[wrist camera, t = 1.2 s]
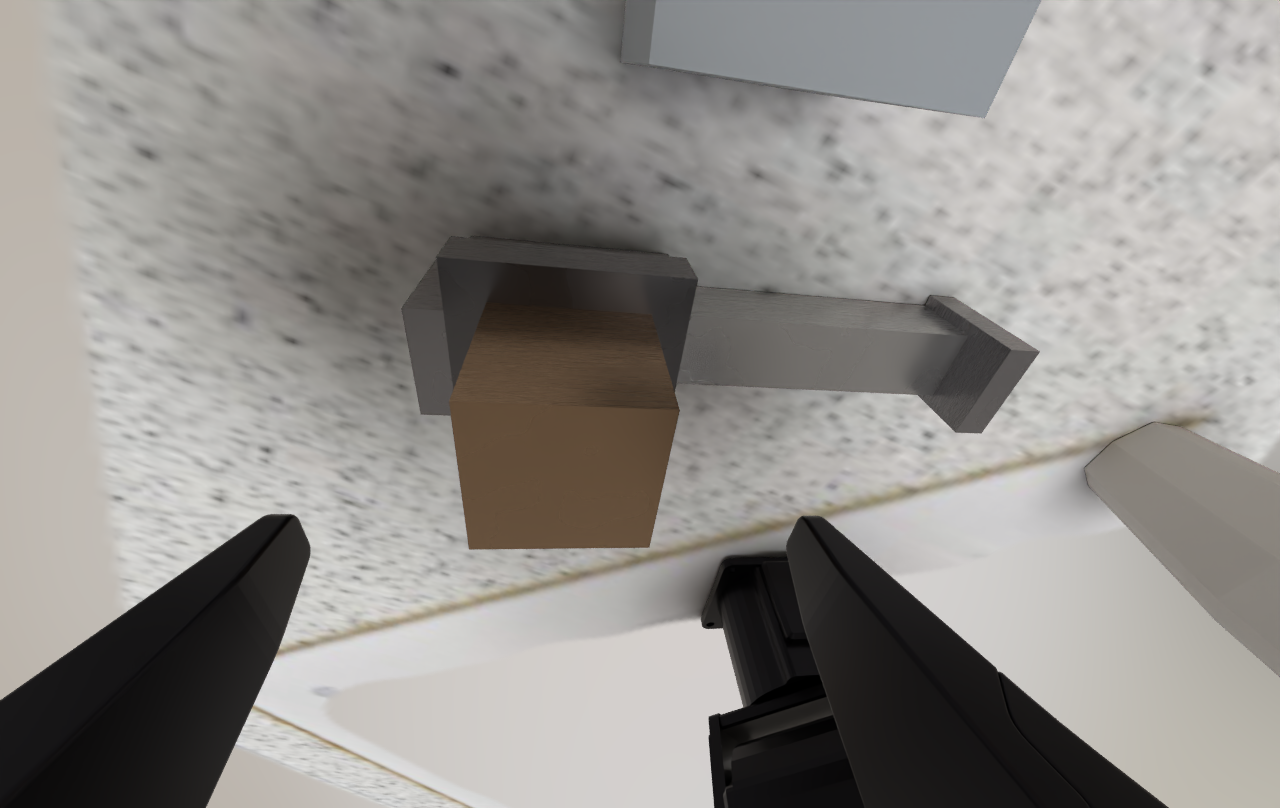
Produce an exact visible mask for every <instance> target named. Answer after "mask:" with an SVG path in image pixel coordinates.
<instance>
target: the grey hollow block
mask: <svg viewBox="0 0 1280 808" xmlns="http://www.w3.org/2000/svg"><path fill="white" fill-rule="evenodd" d="M1040 2H1041V0H625V12H624V24H623V36H622V48H621V60H620V62H622V63H628V64H634V65H640V66H647V67H653V68H659V69H665V70H672V71H678V72H684V73H691V74H697V75H703V76H709V77H716V78H722V79H728V80H734V81H741V82H747V83H753V84H760V85H766V86H772V87H778V88H785V89H791V90H797V91H803V92H810V93H816V94H822V95H828V96H835V97H842V98H849V99H856V100H863V101H870V102H877V103H884V104H890V105H897V106H904V107H911V108H918V109H925V110H932V111H939V112H946V113H953V114H960V115H967V116H974V117H981V118H985V117H986V115H987V113H988V111H989V108H990V106H991V104H992V102H993V100H994V98H995V96H996V94H997V92H998V90H999V88H1000V86H1001V83H1002V81H1003V79H1004V77H1005V75H1006V73H1007V71H1008V69H1009V67H1010V65H1011V63H1012V60H1013V58H1014V56H1015V54H1016V52H1017V50H1018V48H1019V46H1020V44H1021V42H1022V40H1023V37H1024V35H1025V33H1026V31H1027V29H1028V27H1029V25H1030V23H1031V21H1032V19H1033V17H1034V15H1035V12H1036V10H1037V8H1038V6H1039V4H1040Z"/></svg>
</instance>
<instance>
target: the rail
mask: <svg viewBox="0 0 1280 808" xmlns="http://www.w3.org/2000/svg"><path fill="white" fill-rule="evenodd" d="M402 314H403V319H404V325H405V330H406V336H407V341H408V347H409V352H410V357H411V363H412V368H413V374H414V379H415V385H416V390H417V396H418V401H419V407H420V412H421V414H424V415H451V412H450V405H449V400H450V397H451V395H452V392H453V384H452V376H451V368H450V360H449V352H448V345H447V337H446V329H445V321H444V313H443V305H442V297H441V290H440V282H439V274H438V266H437V259H436V260H435V262H434V263H433V264H432V266H431V267H430V269H429V270H428V271H427V273H426V274H425V276H424V277H423V278H422V280H421V281H420V283H419V284H418V286H417V287H416V288H415V290H414V291H413V293H412V294H411V295H410V297H409V298H408V300H407V301H406V303H405V304H404V305H403V307H402ZM1039 352H1040V351H1038V350H1036V349H1035V348H1033V347H1032V346H1030V345H1029V344H1027V343H1025V342H1024V341H1022V340H1021V339H1019V338H1017V337H1016V336H1014V335H1013V334H1011V333H1010V332H1008V331H1006V330H1005V329H1003V328H1002V327H1000V326H998V325H997V324H995V323H994V322H992V321H991V320H989V319H987V318H986V317H984V316H983V315H981V314H979V313H978V312H976V311H975V310H973V309H972V308H970V307H968V306H967V305H965V304H964V303H962V302H960V301H959V300H957V299H956V298H954V297H943V296H931V295H930V297H929V299H928V301H927V303H926V304H925V305H913V304H901V303H889V302H877V301H865V300H853V299H841V298H829V297H817V296H804V295H792V294H780V293H768V292H756V291H744V290H732V289H720V288H708V287H696V292H695V297H694V301H693V306H692V311H691V316H690V321H689V325H688V330H687V335H686V340H685V345H684V349H683V354H682V359H681V364H680V369H679V374H678V378H677V383H683V384H704V385H725V386H746V387H766V388H787V389H808V390H829V391H850V392H870V393H891V394H912V395H918V396H919V397H920V398H921V399H922V400H923V401H924V402H925V403H926V404H927V405H928V406H929V407H930V408H931V409H932V410H933V411H934V412H935V413H936V414H937V415H938V416H939V417H940V418H941V419H943V420H944V421H945V422H946V423H947V424H948V425H949V426H950V427H951V428H952V429H953V430H954V431H955V432H956V433H982V432H983V430H984V429H985V428H986V426H987V425H988V423H989V422H990V421H991V419H992V418H993V416H994V415H995V414H996V412H997V411H998V409H999V408H1000V407H1001V405H1002V404H1003V403H1004V401H1005V400H1006V398H1007V397H1008V396H1009V394H1010V393H1011V391H1012V390H1013V389H1014V387H1015V386H1016V384H1017V383H1018V382H1019V380H1020V379H1021V377H1022V376H1023V375H1024V373H1025V372H1026V370H1027V369H1028V368H1029V366H1030V365H1031V363H1032V362H1033V361H1034V359H1035V358H1036V357H1037V355H1038V354H1039Z"/></svg>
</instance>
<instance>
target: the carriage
mask: <svg viewBox="0 0 1280 808" xmlns="http://www.w3.org/2000/svg"><path fill="white" fill-rule="evenodd" d="M436 258H437V266H438V274H439V282H440V290H441V297H442V305H443V313H444V321H445V329H446V337H447V345H448V352H449V360H450V368H451V376H452V384H453V392H452V395H451V397H450V400H449V405H450V412H451V419H452V427H453V434H454V441H455V449H456V456H457V463H458V471H459V478H460V485H461V493H462V500H463V508H464V515H465V522H466V530H467V537H468V544H469V549H553V548H648V547H649V546H650V542H651V537H652V533H653V528H654V524H655V519H656V515H657V510H658V506H659V501H660V497H661V492H662V488H663V483H664V478H665V474H666V469H667V465H668V460H669V456H670V451H671V447H672V442H673V438H674V433H675V429H676V424H677V420H678V415H679V411H680V410H679V406H678V403H677V399H676V396H675V388H676V383H677V378H678V374H679V369H680V364H681V359H682V354H683V349H684V345H685V340H686V335H687V330H688V325H689V321H690V316H691V311H692V306H693V301H694V297H695V292H696V287H697V282H698V278H697V276H696V275H695V273H694V271H693V269H692V267H691V266H690V264H689V262H688V260H687V258H679V257H669V255H668V254H661V253H650V252H640V251H629V250H618V249H608V248H597V247H586V246H576V245H565V244H554V243H544V242H533V241H522V240H512V239H501V238H490V237H480V236H471V237H470V238H464V237H453V236H451V237H450V238H449V240H448V241H447V243H446V244H445V245H444V247H443V248H442V250H441V251H440V252H439V254H438V255H437V257H436Z"/></svg>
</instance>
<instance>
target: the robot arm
mask: <svg viewBox="0 0 1280 808" xmlns="http://www.w3.org/2000/svg"><path fill="white" fill-rule="evenodd" d="M786 551H787V557H788V558H732V559H727V560H725V561H724V562H723V563H722V564H721V567H720V570H719V572H718V575H717V578H716V580H715V583H714V586H713V588H712V591H711V593H710V596H709V599H708V601H707V604H706V607H705V609H704V612H703V615H702V617H701V622H702V627H704V628H706V629H716V628H723V630H724V633H725V637H726V641H727V645H728V649H729V653H730V657H731V660H732V665H733V669H734V672H735V676H736V680H737V684H738V688H739V692H740V695H741V700H742V704H743V708H741V709H738V710H735V711H731V712H728V713H725V714H722V715H721V714H719V713H718V714H715V715H712V716H709V729H710V735H709V748H710V761H711V773H712V785H713V796H714V808H1168V807H1167V806H1166V805H1165V804H1163V803H1162V802H1161V801H1159V800H1158V799H1157V798H1155V797H1154V796H1153V795H1152V794H1150V793H1149V792H1148V791H1147V790H1145V789H1144V788H1143V787H1141V786H1140V785H1139V784H1138V783H1136V782H1135V781H1134V780H1132V779H1131V778H1130V777H1129V776H1127V775H1126V774H1125V773H1123V772H1122V771H1121V770H1120V769H1118V768H1117V767H1116V766H1114V765H1113V764H1112V763H1111V762H1109V761H1108V760H1107V759H1105V758H1104V757H1103V756H1102V755H1100V754H1099V753H1098V752H1097V751H1095V750H1094V749H1093V748H1092V747H1090V746H1089V745H1088V744H1087V743H1085V742H1084V741H1083V740H1082V739H1080V738H1079V737H1078V736H1077V735H1075V734H1074V733H1073V732H1072V731H1070V730H1069V729H1068V728H1067V727H1065V726H1064V725H1063V724H1062V723H1060V722H1059V721H1058V720H1057V719H1056V718H1054V717H1053V716H1052V715H1051V714H1050V713H1048V712H1047V711H1046V710H1045V709H1044V708H1042V707H1041V706H1040V705H1039V704H1038V703H1037V702H1035V701H1034V700H1033V699H1032V698H1031V697H1029V696H1028V695H1027V694H1026V693H1024V691H1022V690H1021V689H1020V688H1019V687H1018V686H1016V684H1014V683H1013V682H1012V681H1011V680H1010V679H1008V678H1007V677H1006V676H1005V675H1004V674H1003V673H1001V672H998V671H997V669H996V667H994V666H993V665H992V664H991V663H990V662H989V661H988V660H986V659H985V658H984V657H983V656H982V655H981V654H980V653H978V652H977V651H976V650H975V649H974V648H973V647H972V646H970V645H969V644H968V643H967V642H966V641H965V640H963V639H962V638H961V637H960V636H959V635H958V634H957V633H955V632H954V631H953V630H952V629H951V628H950V627H949V626H947V625H946V624H945V623H944V622H943V621H942V620H941V619H939V618H938V617H937V616H936V615H935V614H934V613H932V612H931V611H930V610H929V609H928V608H927V607H926V606H924V605H923V604H922V603H921V602H920V601H918V599H916V598H915V597H914V596H913V595H912V594H911V593H909V592H908V591H907V590H906V589H905V588H904V587H903V586H901V585H900V584H899V583H898V582H897V581H896V580H895V579H893V578H892V577H891V576H890V575H889V574H888V573H886V572H885V571H884V570H883V569H882V568H881V567H880V566H878V565H877V564H876V563H875V562H874V561H873V560H872V559H870V558H869V557H868V556H867V555H866V554H865V553H863V552H862V551H861V550H860V549H859V548H858V547H857V546H855V545H854V544H853V543H852V542H851V541H850V540H849V539H847V538H846V537H845V536H844V535H843V534H842V533H840V532H839V531H838V530H837V529H836V528H835V527H834V526H832V525H831V524H830V523H829V522H828V521H827V520H825V519H824V518H822V517H820V516H801V517H800V518H799V519H798V520H797V522H796V524H795V526H794V529H793V531H792V533H791V535H790V537H789V539H788V541H787V545H786ZM309 558H310V544H309V541H308V539H307V537H306V535H305V532H304V530H303V528H302V526H301V523H300V521H299V519H298V518H297V517H296V516H295V515H292V514H270V515H266V516H263V517H262V518H260V519H258V520H257V521H255V522H254V523H253V524H251V525H250V526H248V527H247V528H245V529H244V530H243V531H241V532H240V533H238V534H237V535H236V536H234V537H233V538H231V539H230V540H228V541H227V542H226V543H224V544H223V545H221V546H220V547H218V548H217V549H216V550H214V551H213V552H211V553H210V554H208V555H207V556H206V557H204V558H203V559H201V560H200V561H198V562H197V563H196V564H194V565H193V566H191V567H190V568H188V569H187V570H186V571H184V572H183V573H181V574H180V575H178V576H177V577H176V578H174V579H173V580H171V581H170V582H168V583H167V584H166V585H164V586H163V587H161V588H160V589H158V590H157V591H156V592H154V593H153V594H151V595H150V596H148V597H147V598H146V599H144V600H143V601H141V602H140V603H138V604H137V605H136V606H134V607H133V608H131V609H130V610H128V611H127V612H126V613H124V614H123V615H121V616H120V617H118V618H117V619H116V620H114V621H113V622H111V623H110V624H109V625H107V626H106V627H104V628H103V629H101V630H100V631H99V632H97V633H96V634H94V635H93V636H91V637H90V638H89V639H87V640H86V641H84V642H83V643H82V644H80V645H79V646H77V647H76V648H74V649H73V650H72V651H70V652H69V653H67V654H66V655H64V656H63V657H61V658H60V659H59V660H57V661H56V662H54V663H53V664H52V665H50V666H49V667H47V668H46V669H44V670H43V671H42V672H40V673H39V674H37V675H36V676H34V677H33V678H32V679H30V680H29V681H27V682H26V683H24V684H23V685H22V686H20V687H19V688H17V689H16V690H14V691H13V692H11V693H10V694H9V695H7V696H6V697H4V698H3V699H2V700H0V808H206V806H207V804H208V802H209V800H210V798H211V796H212V793H213V791H214V789H215V787H216V784H217V782H218V780H219V778H220V776H221V774H222V772H223V769H224V767H225V765H226V763H227V761H228V758H229V756H230V754H231V752H232V750H233V748H234V746H235V743H236V741H237V739H238V737H239V735H240V733H241V730H242V728H243V726H244V724H245V722H246V720H247V717H248V715H249V713H250V711H251V709H252V707H253V704H254V702H255V700H256V698H257V696H258V693H259V691H260V689H261V687H262V685H263V683H264V680H265V678H266V676H267V674H268V672H269V670H270V667H271V665H272V663H273V661H274V658H275V656H276V654H277V651H278V649H279V646H280V644H281V641H282V638H283V636H284V633H285V630H286V627H287V624H288V621H289V618H290V615H291V612H292V609H293V606H294V603H295V600H296V597H297V594H298V591H299V588H300V585H301V582H302V579H303V576H304V573H305V570H306V567H307V564H308V561H309Z"/></svg>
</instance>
